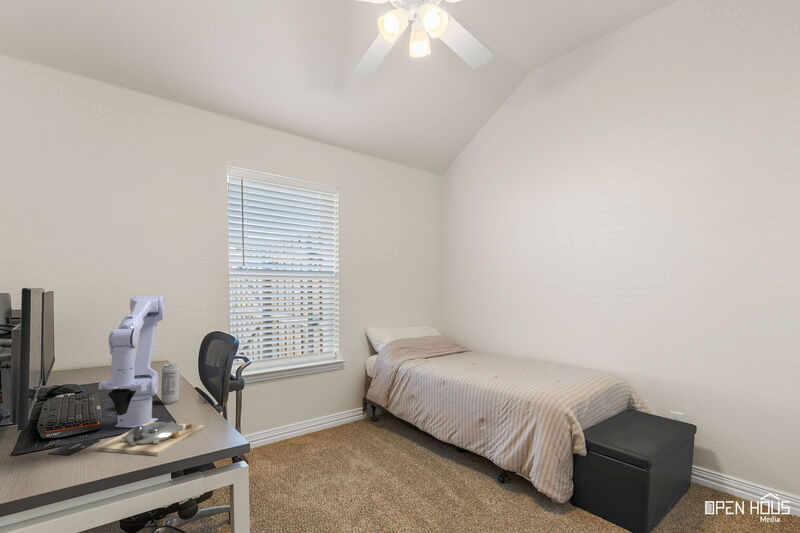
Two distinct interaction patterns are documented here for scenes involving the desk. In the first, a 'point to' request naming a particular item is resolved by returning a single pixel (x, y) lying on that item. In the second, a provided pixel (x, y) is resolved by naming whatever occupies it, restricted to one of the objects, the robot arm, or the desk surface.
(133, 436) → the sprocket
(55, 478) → the desk surface
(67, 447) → the solid state drive
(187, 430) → the board
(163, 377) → the energy drink can
